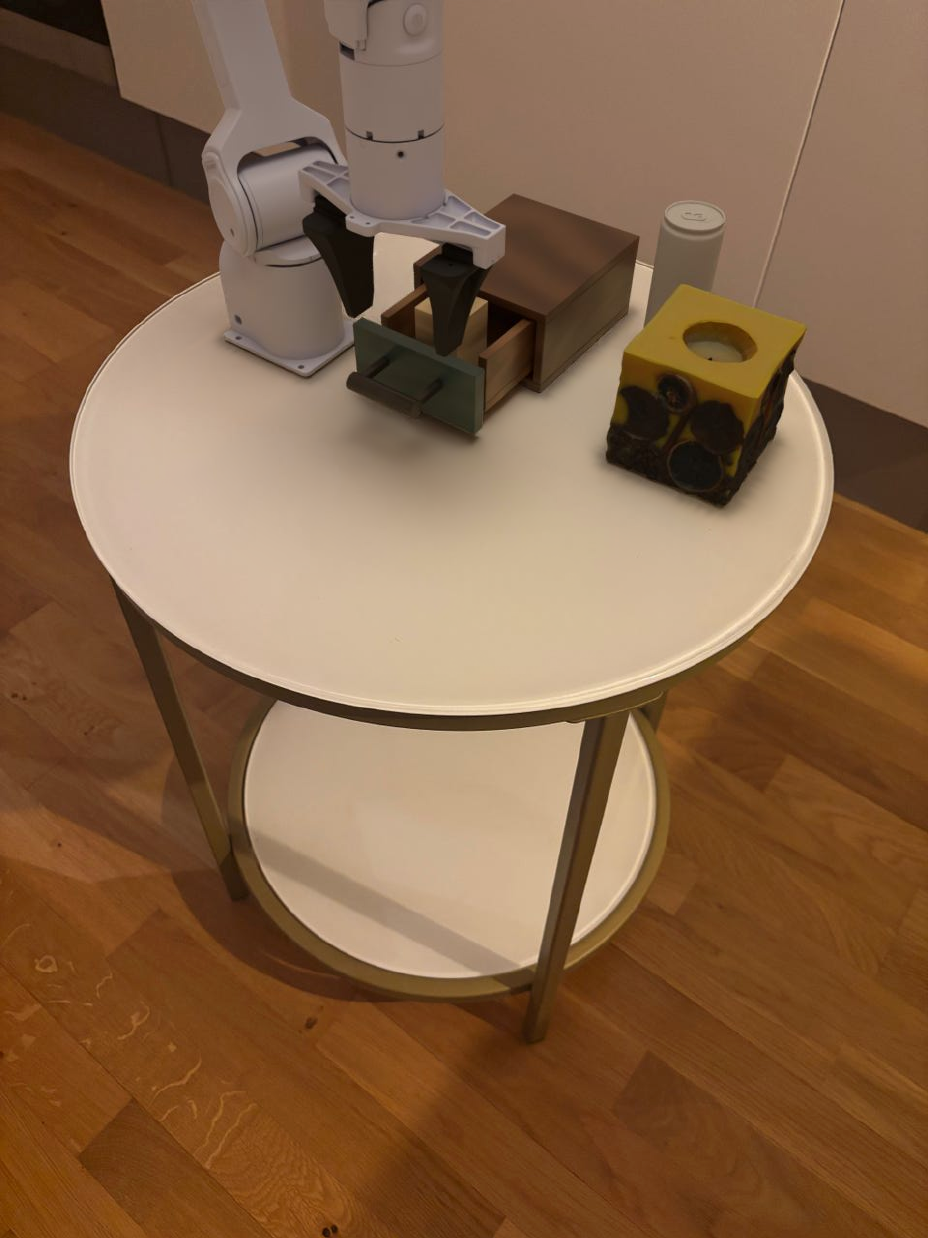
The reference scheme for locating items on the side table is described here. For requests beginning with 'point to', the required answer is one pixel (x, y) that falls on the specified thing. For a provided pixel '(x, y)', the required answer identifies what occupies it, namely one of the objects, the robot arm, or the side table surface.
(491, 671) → the side table surface
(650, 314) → the beverage can
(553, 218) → the cabinet
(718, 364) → the candle
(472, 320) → the block
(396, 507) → the side table surface
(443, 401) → the drawer
